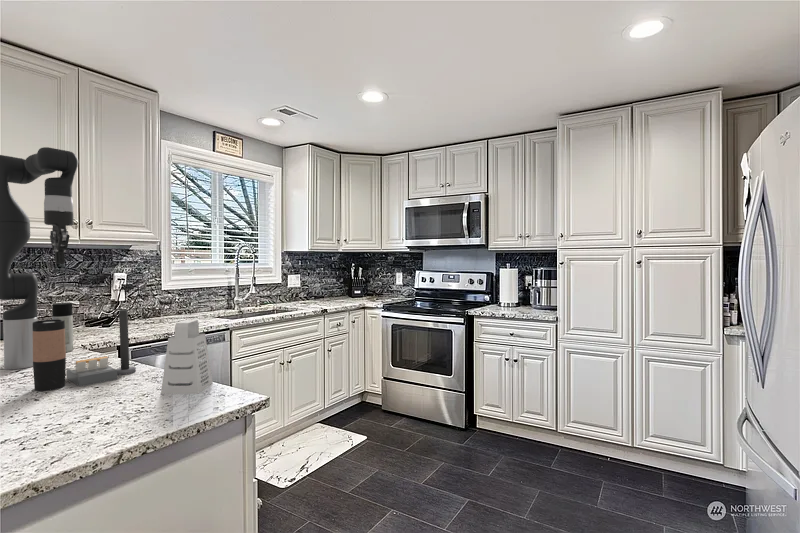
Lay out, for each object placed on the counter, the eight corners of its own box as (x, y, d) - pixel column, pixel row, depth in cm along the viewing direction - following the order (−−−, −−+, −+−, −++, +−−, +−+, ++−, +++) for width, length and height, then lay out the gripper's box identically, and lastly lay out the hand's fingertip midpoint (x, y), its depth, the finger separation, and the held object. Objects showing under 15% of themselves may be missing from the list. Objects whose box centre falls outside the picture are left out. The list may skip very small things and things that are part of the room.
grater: (212, 382, 133) (212, 318, 133) (198, 393, 123) (197, 324, 122) (178, 383, 133) (177, 319, 132) (160, 394, 123) (159, 324, 122)
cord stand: (111, 372, 145) (109, 310, 144) (131, 368, 149) (129, 308, 149) (118, 376, 141) (116, 312, 140) (138, 371, 146) (136, 309, 145)
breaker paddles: (75, 370, 135) (75, 360, 134) (106, 365, 141) (106, 356, 141) (76, 372, 134) (77, 362, 133) (107, 366, 141) (108, 357, 140)
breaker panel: (66, 378, 138) (66, 368, 138) (102, 371, 146) (102, 362, 146) (79, 386, 130) (79, 376, 130) (117, 379, 137) (117, 369, 137)
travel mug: (27, 392, 124) (26, 323, 123) (41, 385, 131) (40, 319, 131) (58, 390, 126) (57, 322, 125) (71, 383, 133) (69, 318, 133)
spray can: (77, 349, 180) (76, 302, 180) (63, 353, 174) (62, 304, 173) (63, 349, 181) (62, 302, 180) (48, 353, 174) (47, 304, 174)
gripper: (39, 211, 142) (40, 263, 142) (49, 208, 133) (50, 264, 134) (67, 212, 147) (68, 263, 148) (78, 210, 139) (79, 263, 139)
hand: (60, 263), depth 141 cm, fingers closed
